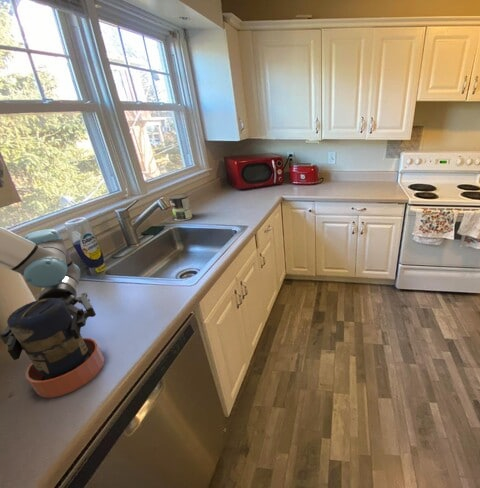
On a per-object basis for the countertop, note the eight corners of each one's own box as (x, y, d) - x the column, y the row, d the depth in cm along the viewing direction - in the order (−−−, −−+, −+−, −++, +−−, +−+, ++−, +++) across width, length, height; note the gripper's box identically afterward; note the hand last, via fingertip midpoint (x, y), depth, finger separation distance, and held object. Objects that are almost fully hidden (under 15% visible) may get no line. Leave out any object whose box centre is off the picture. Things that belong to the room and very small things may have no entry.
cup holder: (33, 378, 70) (22, 361, 68) (97, 346, 80) (89, 330, 77) (42, 411, 63) (30, 393, 60) (112, 372, 72) (104, 355, 69)
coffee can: (177, 222, 168) (171, 199, 161) (172, 217, 175) (166, 196, 168) (195, 218, 174) (190, 196, 168) (189, 214, 181) (184, 192, 175)
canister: (30, 375, 66) (-11, 315, 58) (71, 345, 75) (40, 289, 67) (61, 383, 64) (22, 322, 56) (99, 351, 72) (71, 295, 64)
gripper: (111, 292, 86) (111, 335, 69) (10, 321, 74) (-18, 381, 58) (102, 271, 82) (100, 311, 66) (-5, 298, 71) (-39, 355, 54)
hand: (45, 344), depth 62 cm, fingers closed on canister, 9 cm apart
